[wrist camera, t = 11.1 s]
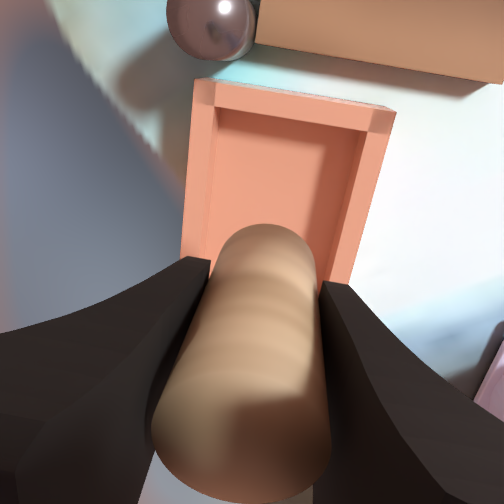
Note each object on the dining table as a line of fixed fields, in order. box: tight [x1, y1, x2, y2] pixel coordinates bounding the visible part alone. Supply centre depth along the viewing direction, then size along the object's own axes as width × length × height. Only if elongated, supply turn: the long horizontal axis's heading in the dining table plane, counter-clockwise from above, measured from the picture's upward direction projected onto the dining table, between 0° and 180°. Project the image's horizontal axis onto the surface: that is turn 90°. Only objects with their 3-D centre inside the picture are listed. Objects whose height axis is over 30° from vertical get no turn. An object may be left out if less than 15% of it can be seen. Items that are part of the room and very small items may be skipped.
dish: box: [180, 77, 397, 297], centre depth 17 cm, size 9×7×2 cm
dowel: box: [151, 223, 331, 504], centre depth 9 cm, size 3×3×6 cm
